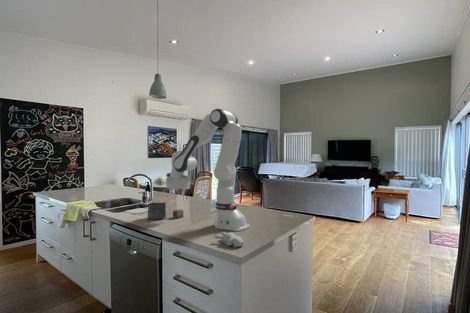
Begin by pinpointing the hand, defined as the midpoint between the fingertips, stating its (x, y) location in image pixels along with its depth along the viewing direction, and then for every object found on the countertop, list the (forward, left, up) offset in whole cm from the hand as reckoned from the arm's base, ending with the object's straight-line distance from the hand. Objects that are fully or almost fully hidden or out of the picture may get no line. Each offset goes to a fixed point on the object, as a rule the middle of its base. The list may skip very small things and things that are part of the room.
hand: (177, 194), depth 185 cm
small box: (+10, +10, -16) cm, 21 cm away
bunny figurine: (-60, +22, -16) cm, 66 cm away
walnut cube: (0, 0, -16) cm, 16 cm away
